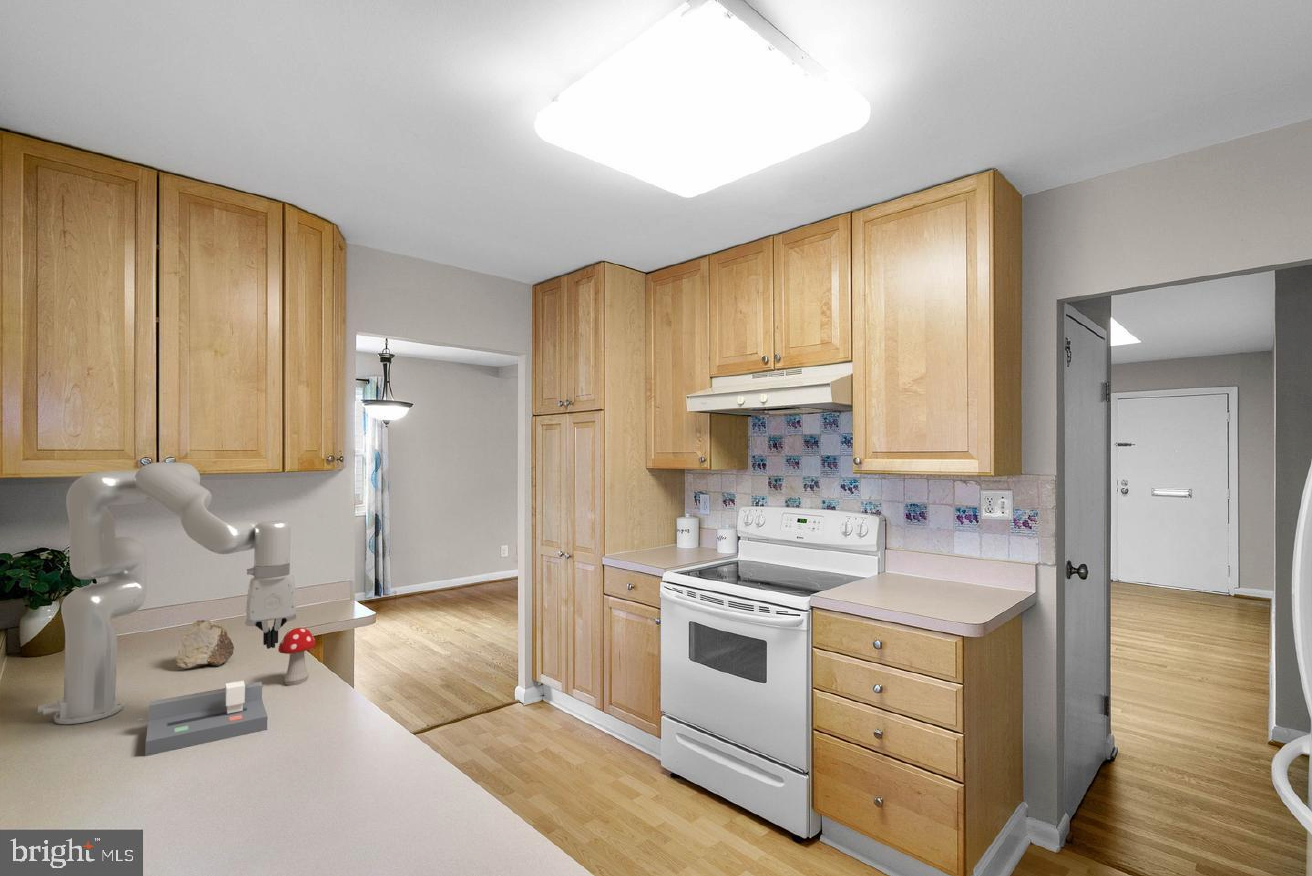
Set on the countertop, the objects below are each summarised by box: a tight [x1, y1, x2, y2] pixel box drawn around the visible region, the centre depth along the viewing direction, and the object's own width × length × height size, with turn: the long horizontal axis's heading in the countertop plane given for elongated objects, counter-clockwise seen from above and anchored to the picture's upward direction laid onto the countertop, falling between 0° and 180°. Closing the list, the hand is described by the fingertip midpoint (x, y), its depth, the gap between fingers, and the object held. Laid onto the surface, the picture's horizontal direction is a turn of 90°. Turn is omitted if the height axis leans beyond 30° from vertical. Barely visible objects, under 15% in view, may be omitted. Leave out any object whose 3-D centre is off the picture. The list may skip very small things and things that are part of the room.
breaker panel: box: [144, 681, 268, 757], centre depth 146 cm, size 22×16×6 cm
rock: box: [174, 619, 235, 670], centre depth 190 cm, size 15×8×15 cm
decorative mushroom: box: [277, 627, 317, 686], centre depth 177 cm, size 10×9×15 cm
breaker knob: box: [224, 679, 246, 714], centre depth 149 cm, size 4×4×6 cm
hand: (270, 646), depth 153 cm, fingers closed
